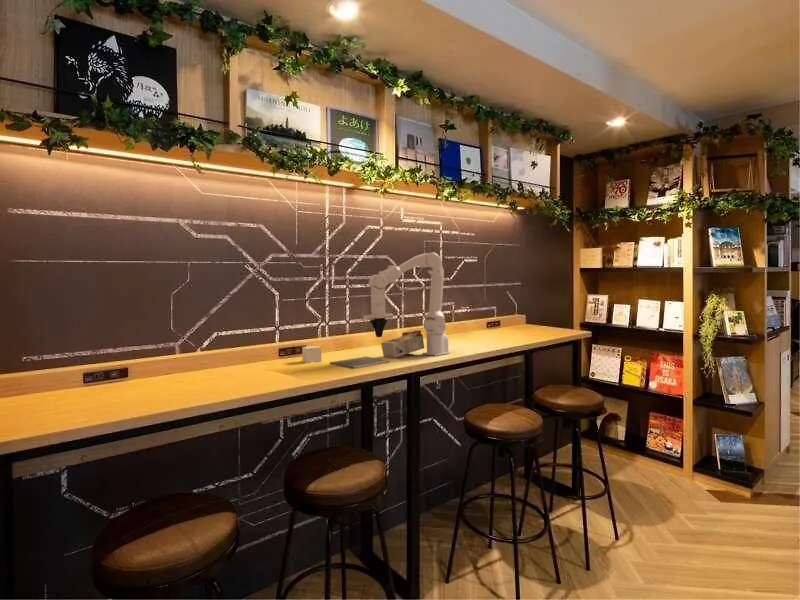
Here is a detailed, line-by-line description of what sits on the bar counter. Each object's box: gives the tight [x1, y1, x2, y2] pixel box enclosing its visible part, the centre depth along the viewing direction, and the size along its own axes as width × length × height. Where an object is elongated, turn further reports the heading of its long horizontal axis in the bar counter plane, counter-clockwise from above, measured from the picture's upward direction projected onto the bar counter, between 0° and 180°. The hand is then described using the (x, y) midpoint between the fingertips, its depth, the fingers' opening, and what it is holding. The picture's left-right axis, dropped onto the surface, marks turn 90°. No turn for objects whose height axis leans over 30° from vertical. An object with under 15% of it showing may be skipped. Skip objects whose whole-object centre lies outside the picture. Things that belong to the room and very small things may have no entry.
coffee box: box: [380, 333, 425, 359], centre depth 198 cm, size 9×6×16 cm
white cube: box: [301, 345, 322, 364], centre depth 188 cm, size 6×6×6 cm
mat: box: [329, 356, 392, 369], centre depth 182 cm, size 18×16×1 cm
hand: (379, 336), depth 189 cm, fingers closed
